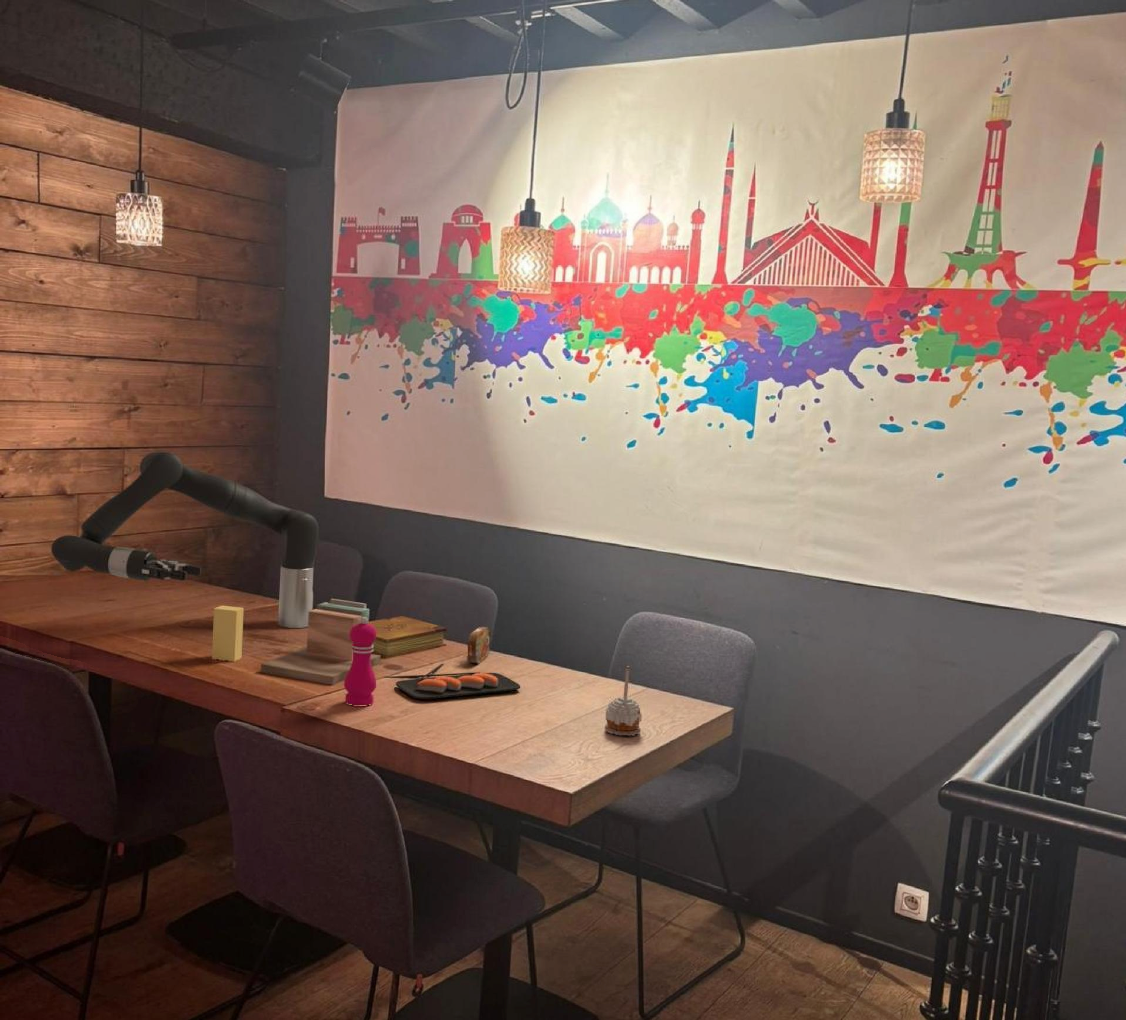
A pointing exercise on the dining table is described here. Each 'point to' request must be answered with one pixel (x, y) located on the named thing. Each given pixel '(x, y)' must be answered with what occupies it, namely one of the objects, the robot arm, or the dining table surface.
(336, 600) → the blocks on base plate
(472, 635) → the tin
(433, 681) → the sushi plate
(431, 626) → the diary
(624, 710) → the caramel apple
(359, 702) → the pepper mill
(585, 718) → the dining table surface
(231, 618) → the tall mustard yellow pillar
